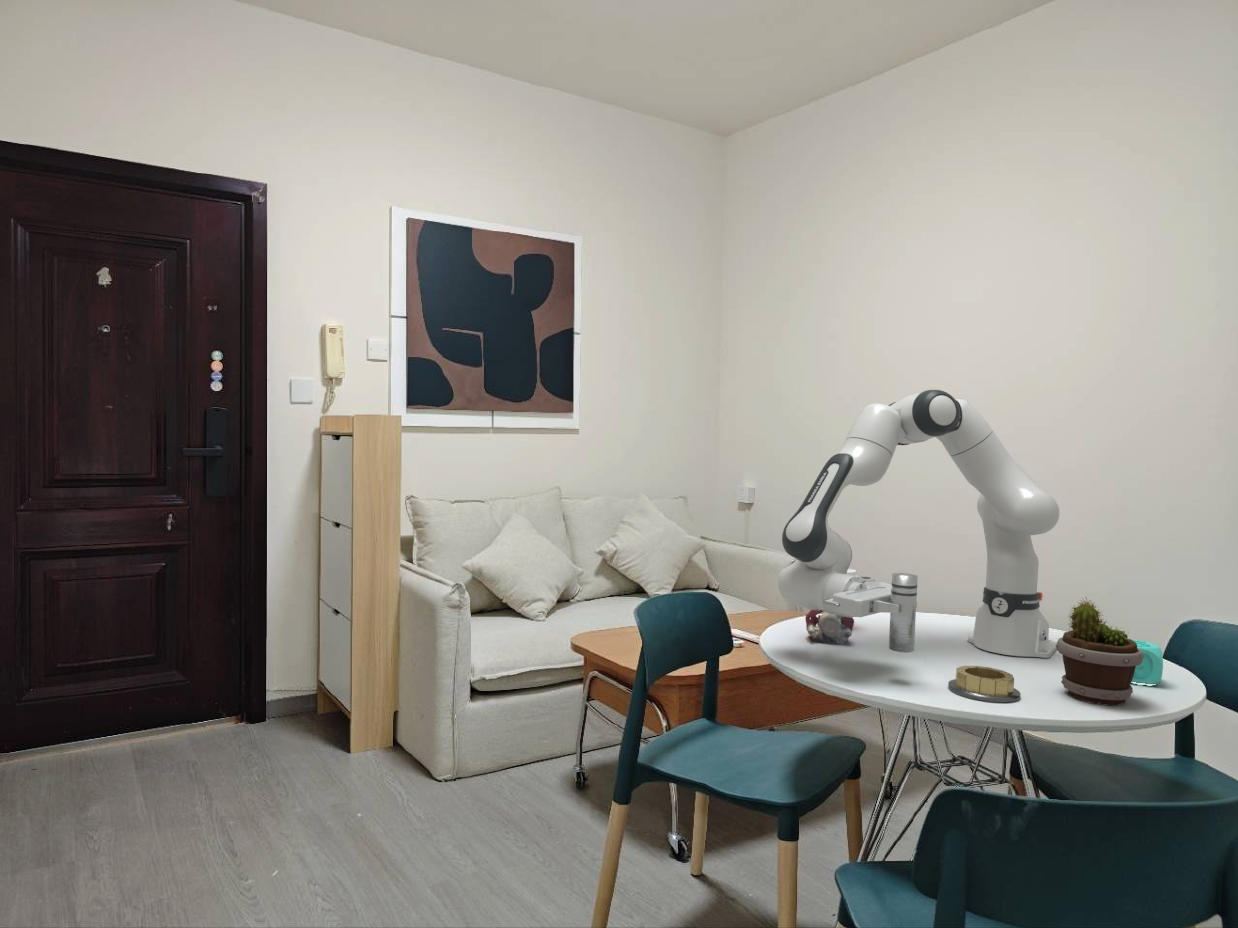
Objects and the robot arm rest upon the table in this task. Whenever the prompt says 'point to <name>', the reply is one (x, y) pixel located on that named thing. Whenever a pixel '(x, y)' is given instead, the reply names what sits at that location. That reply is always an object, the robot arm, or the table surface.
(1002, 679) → the ring seat
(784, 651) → the table surface
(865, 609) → the robot arm
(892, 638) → the piston
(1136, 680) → the decorative dice
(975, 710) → the table surface
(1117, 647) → the flowerpot
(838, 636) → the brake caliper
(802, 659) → the table surface
